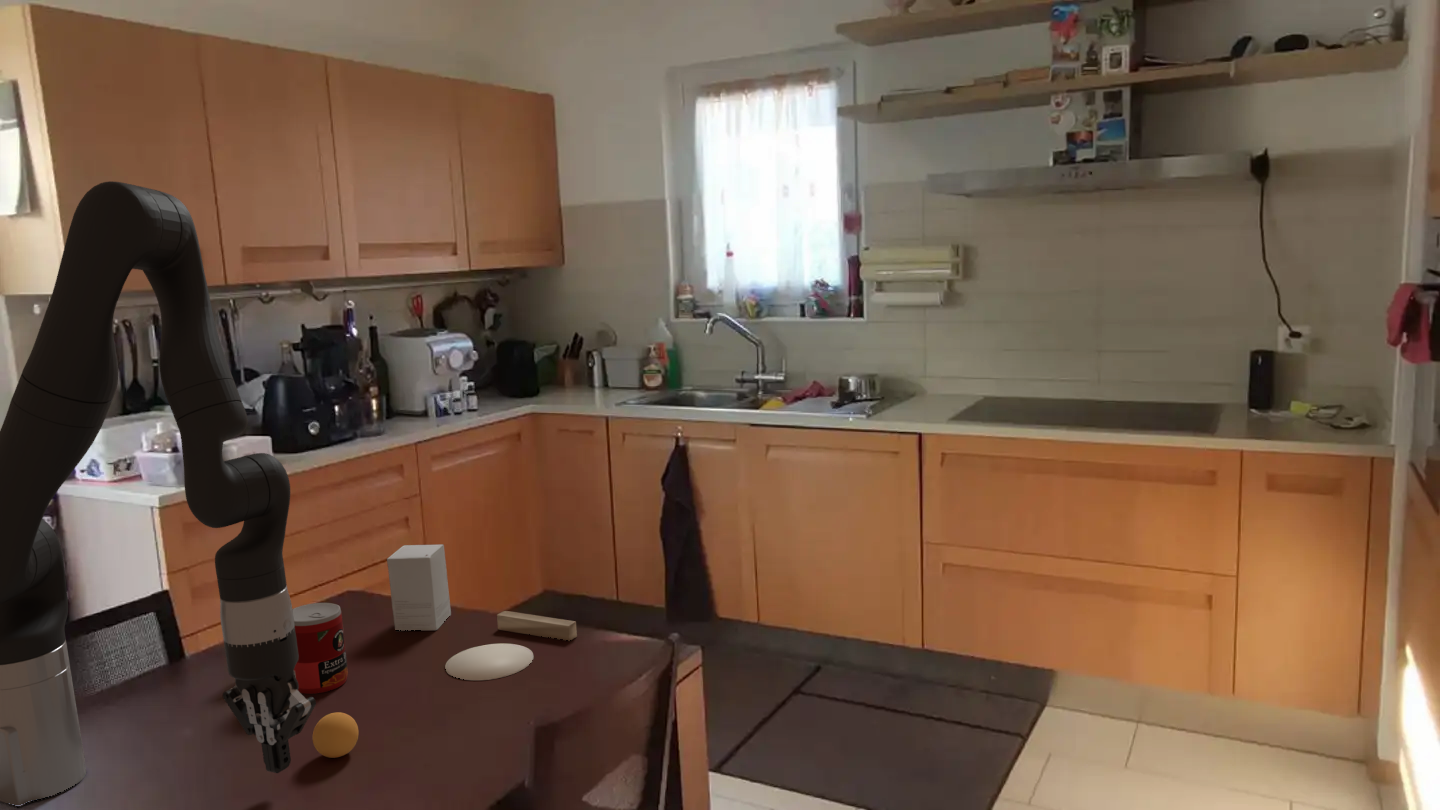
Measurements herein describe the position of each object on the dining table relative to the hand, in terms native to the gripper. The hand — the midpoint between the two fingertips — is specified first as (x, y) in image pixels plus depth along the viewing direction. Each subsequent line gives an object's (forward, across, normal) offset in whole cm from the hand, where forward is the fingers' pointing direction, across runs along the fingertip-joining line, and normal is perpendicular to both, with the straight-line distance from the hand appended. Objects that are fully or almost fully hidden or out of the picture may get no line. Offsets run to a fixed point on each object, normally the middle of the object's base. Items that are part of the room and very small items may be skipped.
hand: (278, 769), depth 122 cm
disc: (+3, 0, +39) cm, 39 cm away
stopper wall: (+3, 0, +51) cm, 51 cm away
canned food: (+3, -19, +24) cm, 31 cm away
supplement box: (+3, -20, +48) cm, 52 cm away
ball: (0, 0, +9) cm, 9 cm away
